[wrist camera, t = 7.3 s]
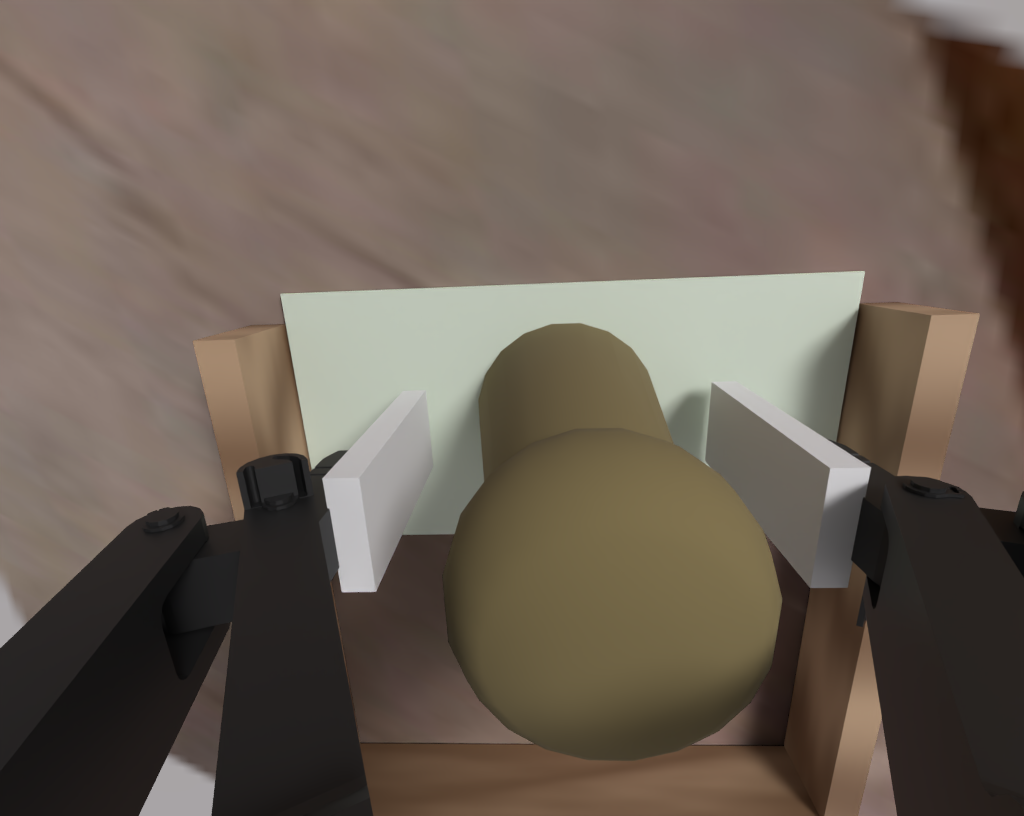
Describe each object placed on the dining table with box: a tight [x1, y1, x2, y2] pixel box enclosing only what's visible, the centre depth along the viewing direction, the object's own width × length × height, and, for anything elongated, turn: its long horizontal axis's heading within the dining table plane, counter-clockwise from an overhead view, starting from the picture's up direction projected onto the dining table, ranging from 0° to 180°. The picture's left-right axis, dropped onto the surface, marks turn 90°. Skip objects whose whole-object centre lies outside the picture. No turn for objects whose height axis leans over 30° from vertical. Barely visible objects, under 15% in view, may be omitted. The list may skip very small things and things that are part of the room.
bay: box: [193, 302, 980, 816], centre depth 18 cm, size 20×21×3 cm
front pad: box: [280, 271, 865, 535], centre depth 17 cm, size 9×18×1 cm, turn 92°
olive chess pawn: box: [442, 323, 782, 761], centre depth 12 cm, size 6×6×11 cm
